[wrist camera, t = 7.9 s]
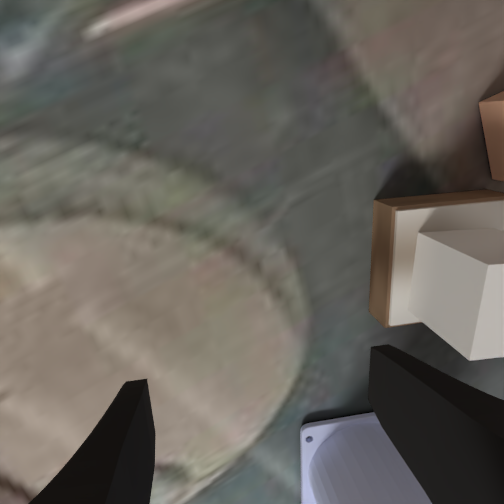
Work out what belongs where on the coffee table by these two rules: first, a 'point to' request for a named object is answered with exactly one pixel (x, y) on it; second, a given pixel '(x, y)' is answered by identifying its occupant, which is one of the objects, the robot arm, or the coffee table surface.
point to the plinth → (405, 238)
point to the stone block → (461, 289)
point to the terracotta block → (494, 132)
